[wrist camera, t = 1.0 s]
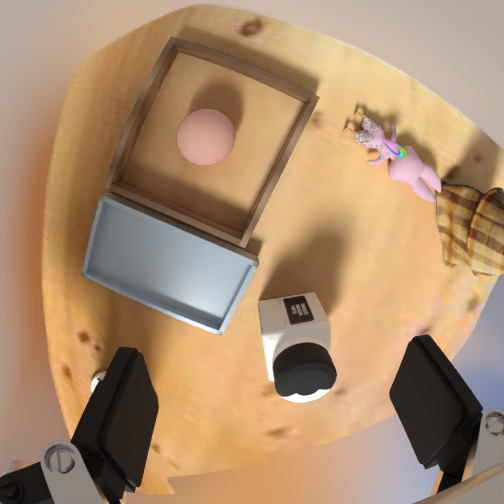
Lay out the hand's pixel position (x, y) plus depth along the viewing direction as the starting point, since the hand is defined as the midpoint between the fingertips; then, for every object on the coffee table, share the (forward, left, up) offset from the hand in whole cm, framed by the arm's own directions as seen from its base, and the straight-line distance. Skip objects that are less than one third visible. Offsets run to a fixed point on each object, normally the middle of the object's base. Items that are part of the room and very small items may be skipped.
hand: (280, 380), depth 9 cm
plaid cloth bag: (+14, -29, -26) cm, 42 cm away
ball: (+6, +8, -26) cm, 28 cm away
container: (-11, -11, -26) cm, 31 cm away
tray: (-10, +7, -26) cm, 29 cm away
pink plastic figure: (+14, -13, -27) cm, 33 cm away
